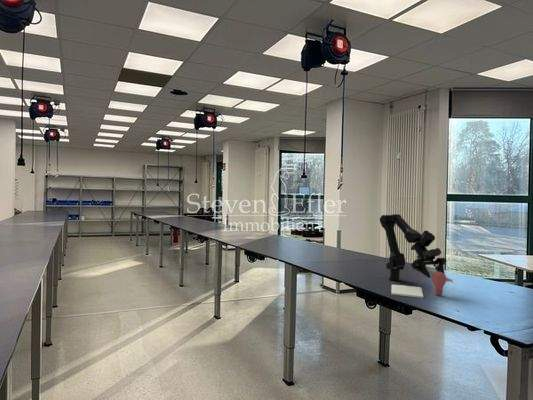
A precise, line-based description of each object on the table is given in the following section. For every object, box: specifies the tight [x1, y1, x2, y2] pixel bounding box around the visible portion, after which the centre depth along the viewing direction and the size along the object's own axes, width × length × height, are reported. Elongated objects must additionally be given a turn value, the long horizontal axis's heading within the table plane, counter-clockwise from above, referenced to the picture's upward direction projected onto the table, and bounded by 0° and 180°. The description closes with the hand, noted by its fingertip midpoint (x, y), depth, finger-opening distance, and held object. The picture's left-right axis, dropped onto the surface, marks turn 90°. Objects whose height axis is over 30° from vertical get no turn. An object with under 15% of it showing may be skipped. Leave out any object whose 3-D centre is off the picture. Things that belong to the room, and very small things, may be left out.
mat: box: [390, 284, 424, 299], centre depth 203 cm, size 19×15×1 cm
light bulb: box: [430, 270, 448, 296], centre depth 198 cm, size 7×7×12 cm
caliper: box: [422, 265, 454, 283], centre depth 238 cm, size 20×1×6 cm, turn 30°
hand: (437, 277), depth 199 cm, fingers open, 9 cm apart
